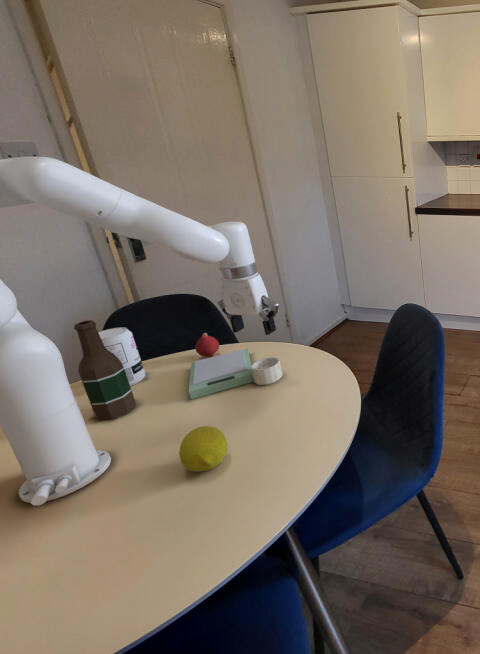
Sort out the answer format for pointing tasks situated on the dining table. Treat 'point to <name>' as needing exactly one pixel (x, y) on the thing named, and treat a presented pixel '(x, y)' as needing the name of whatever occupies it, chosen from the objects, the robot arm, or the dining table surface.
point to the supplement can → (124, 352)
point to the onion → (207, 345)
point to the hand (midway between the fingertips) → (254, 331)
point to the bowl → (266, 371)
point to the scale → (220, 373)
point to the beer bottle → (103, 375)
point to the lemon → (203, 449)
